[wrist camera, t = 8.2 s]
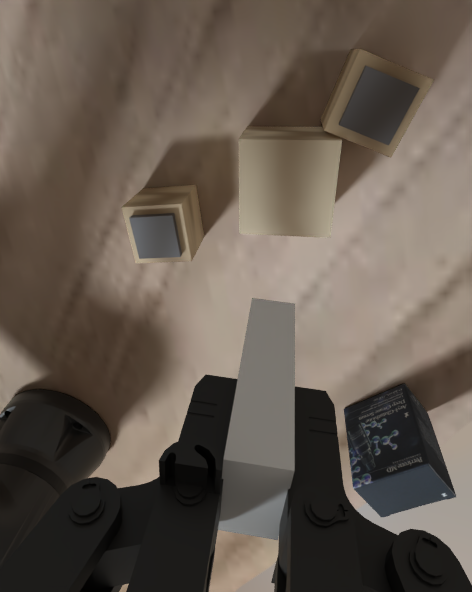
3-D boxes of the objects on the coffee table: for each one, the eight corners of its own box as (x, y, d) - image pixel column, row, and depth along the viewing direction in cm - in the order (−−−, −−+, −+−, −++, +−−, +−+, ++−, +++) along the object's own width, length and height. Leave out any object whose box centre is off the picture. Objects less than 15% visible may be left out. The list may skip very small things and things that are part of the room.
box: (403, 380, 44) (430, 464, 35) (427, 411, 46) (459, 498, 37) (341, 407, 47) (351, 490, 38) (366, 435, 49) (382, 520, 40)
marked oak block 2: (154, 238, 39) (133, 266, 34) (143, 188, 36) (118, 209, 31) (204, 236, 38) (189, 264, 33) (196, 184, 36) (179, 206, 31)
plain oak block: (247, 208, 36) (239, 233, 31) (248, 125, 33) (238, 139, 28) (325, 211, 35) (330, 237, 30) (335, 126, 32) (342, 140, 27)
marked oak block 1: (320, 119, 32) (324, 131, 26) (350, 49, 29) (361, 48, 24) (377, 142, 32) (392, 159, 27) (412, 75, 29) (436, 80, 24)
